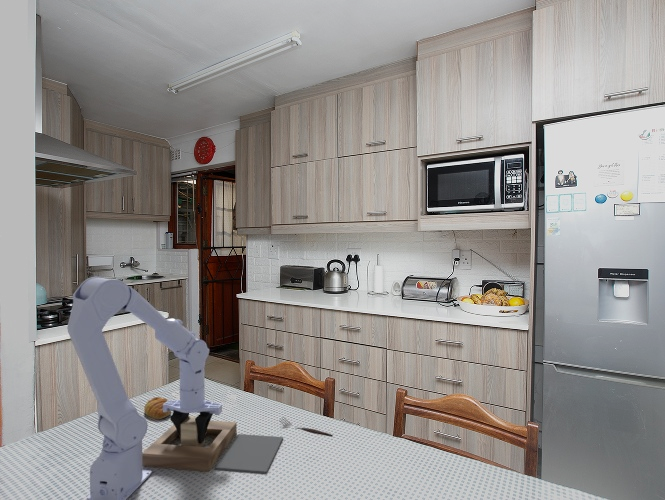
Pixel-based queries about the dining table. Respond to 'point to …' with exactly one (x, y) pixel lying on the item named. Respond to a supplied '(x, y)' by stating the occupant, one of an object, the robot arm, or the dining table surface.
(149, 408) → the pastry
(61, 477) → the dining table surface
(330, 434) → the fork
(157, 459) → the wooden square frame
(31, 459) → the dining table surface
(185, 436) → the block
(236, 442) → the mat
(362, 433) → the dining table surface
